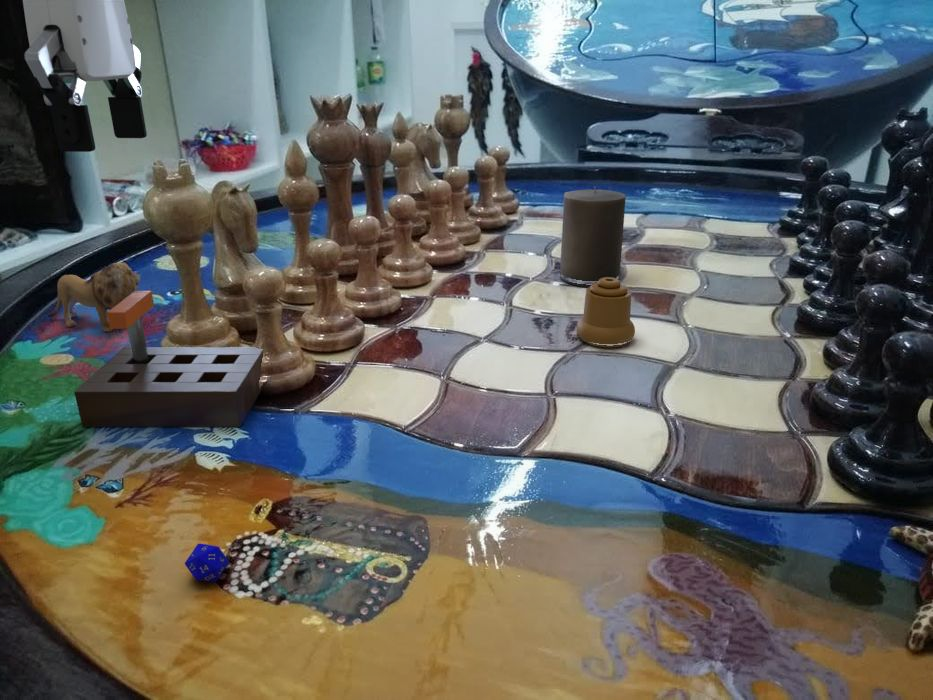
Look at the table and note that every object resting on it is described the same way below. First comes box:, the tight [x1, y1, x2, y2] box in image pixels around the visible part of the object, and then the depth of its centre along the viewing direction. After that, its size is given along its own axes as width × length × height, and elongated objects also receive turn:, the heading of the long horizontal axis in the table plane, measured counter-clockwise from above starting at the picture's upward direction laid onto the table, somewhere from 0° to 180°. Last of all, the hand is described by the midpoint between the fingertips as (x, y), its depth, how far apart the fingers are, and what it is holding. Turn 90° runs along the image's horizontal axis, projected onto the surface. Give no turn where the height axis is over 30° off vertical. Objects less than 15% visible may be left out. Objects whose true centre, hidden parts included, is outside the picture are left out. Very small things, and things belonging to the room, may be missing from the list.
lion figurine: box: [46, 261, 141, 333], centre depth 99 cm, size 15×5×9 cm, turn 79°
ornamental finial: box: [576, 277, 636, 349], centre depth 94 cm, size 8×8×8 cm
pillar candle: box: [559, 185, 627, 288], centre depth 117 cm, size 10×10×15 cm
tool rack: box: [74, 346, 266, 428], centre depth 78 cm, size 11×16×4 cm
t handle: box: [107, 290, 155, 364], centre depth 79 cm, size 2×7×11 cm, turn 0°
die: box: [184, 543, 230, 583], centre depth 53 cm, size 3×3×3 cm
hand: (106, 144), depth 71 cm, fingers open, 9 cm apart
